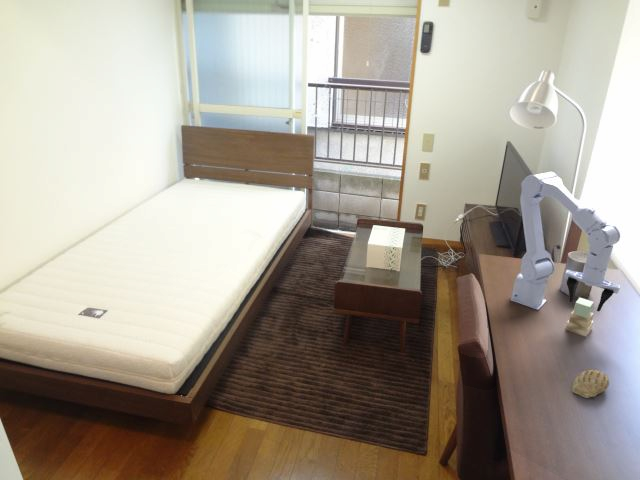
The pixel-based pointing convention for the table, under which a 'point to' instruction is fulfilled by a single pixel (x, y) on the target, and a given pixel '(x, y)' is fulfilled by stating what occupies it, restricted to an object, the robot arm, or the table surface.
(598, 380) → the seashell
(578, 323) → the beige square block
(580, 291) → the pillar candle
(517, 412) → the table surface
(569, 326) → the base slab
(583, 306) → the sage cube
